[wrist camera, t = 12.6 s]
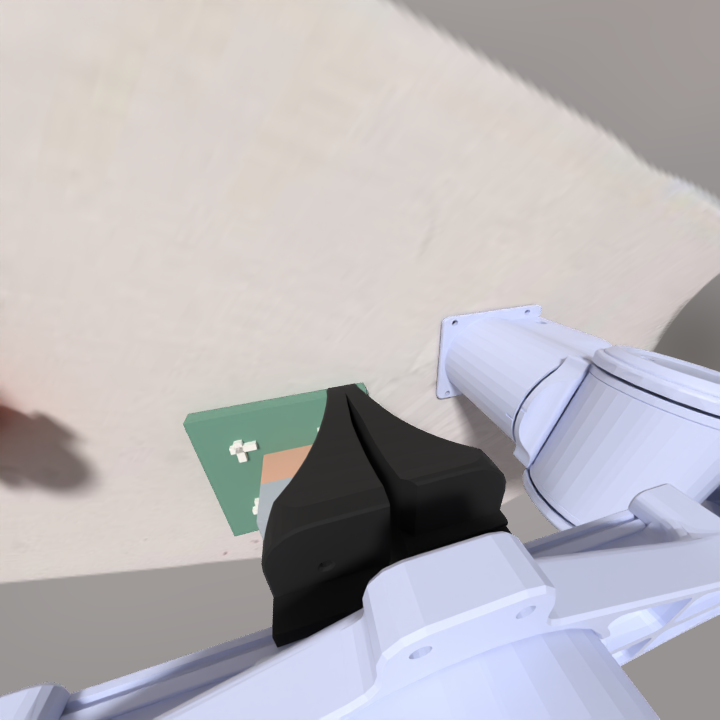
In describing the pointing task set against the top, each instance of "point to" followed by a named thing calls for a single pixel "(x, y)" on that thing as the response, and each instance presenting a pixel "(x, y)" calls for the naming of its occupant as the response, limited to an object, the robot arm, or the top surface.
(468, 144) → the top surface
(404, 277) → the top surface
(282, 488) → the brick stack
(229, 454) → the base plate
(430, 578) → the robot arm
